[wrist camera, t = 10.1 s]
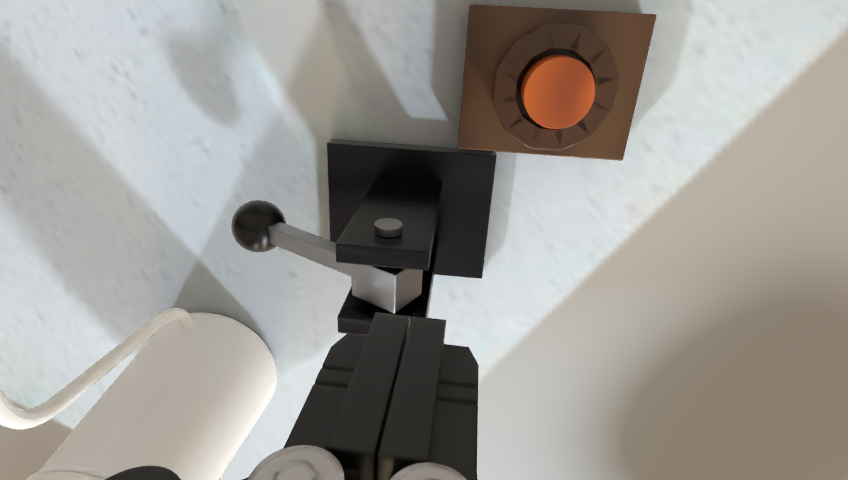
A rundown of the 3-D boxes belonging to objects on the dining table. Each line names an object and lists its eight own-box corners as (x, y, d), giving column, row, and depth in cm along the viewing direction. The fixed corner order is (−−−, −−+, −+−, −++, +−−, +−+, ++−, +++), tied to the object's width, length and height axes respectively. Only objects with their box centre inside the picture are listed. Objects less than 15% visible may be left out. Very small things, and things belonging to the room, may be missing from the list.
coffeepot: (255, 222, 35) (52, 410, 18) (298, 463, 45) (195, 726, 28) (118, 219, 36) (-199, 395, 19) (190, 456, 46) (28, 707, 29)
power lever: (265, 234, 32) (223, 250, 29) (261, 189, 31) (216, 202, 28) (425, 299, 26) (389, 326, 23) (428, 245, 24) (390, 269, 22)
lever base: (335, 257, 36) (277, 358, 25) (331, 138, 32) (261, 197, 21) (481, 270, 35) (485, 379, 24) (495, 151, 31) (508, 217, 21)
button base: (458, 140, 31) (456, 156, 28) (469, 5, 28) (469, 2, 24) (613, 152, 31) (632, 169, 27) (643, 14, 27) (670, 13, 24)
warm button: (516, 120, 27) (519, 126, 25) (525, 52, 25) (529, 54, 24) (580, 125, 27) (588, 131, 25) (594, 56, 25) (602, 58, 23)
